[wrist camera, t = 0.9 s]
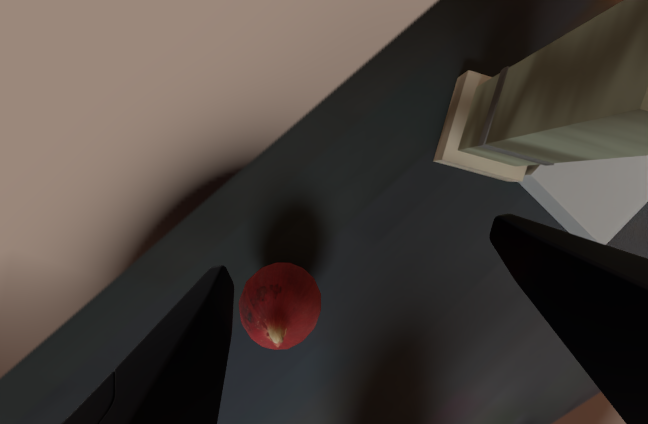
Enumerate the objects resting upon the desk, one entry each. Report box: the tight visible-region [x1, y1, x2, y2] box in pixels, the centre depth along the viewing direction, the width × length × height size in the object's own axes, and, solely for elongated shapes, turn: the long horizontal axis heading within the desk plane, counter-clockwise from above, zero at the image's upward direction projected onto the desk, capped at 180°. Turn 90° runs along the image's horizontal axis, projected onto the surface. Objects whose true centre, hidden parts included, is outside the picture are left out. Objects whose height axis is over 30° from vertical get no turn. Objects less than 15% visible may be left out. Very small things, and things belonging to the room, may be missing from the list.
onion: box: [239, 262, 321, 349], centre depth 19 cm, size 6×6×8 cm
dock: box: [519, 155, 648, 245], centre depth 22 cm, size 9×10×2 cm
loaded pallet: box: [433, 0, 648, 182], centre depth 16 cm, size 7×7×13 cm
